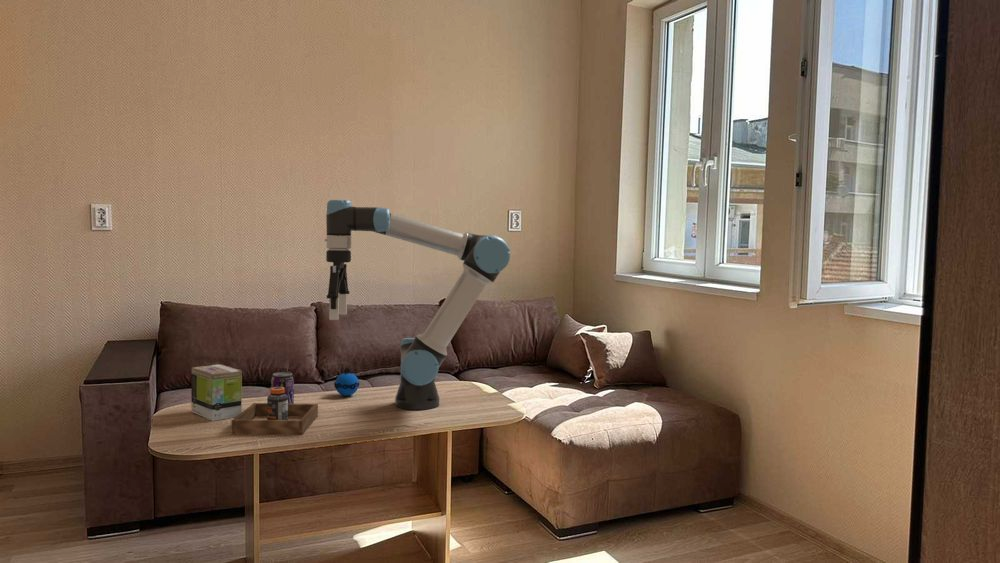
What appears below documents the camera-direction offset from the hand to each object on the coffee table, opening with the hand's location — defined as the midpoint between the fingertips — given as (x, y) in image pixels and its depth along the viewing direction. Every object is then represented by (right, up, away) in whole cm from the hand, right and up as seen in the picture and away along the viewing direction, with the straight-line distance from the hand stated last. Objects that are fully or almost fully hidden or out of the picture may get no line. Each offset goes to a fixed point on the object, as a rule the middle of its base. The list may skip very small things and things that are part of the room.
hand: (338, 317), depth 219 cm
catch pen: (-16, -32, -9) cm, 37 cm away
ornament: (-4, -30, +29) cm, 42 cm away
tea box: (-39, -31, +1) cm, 50 cm away
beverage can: (-20, -31, +8) cm, 38 cm away
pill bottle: (-16, -32, -9) cm, 37 cm away
